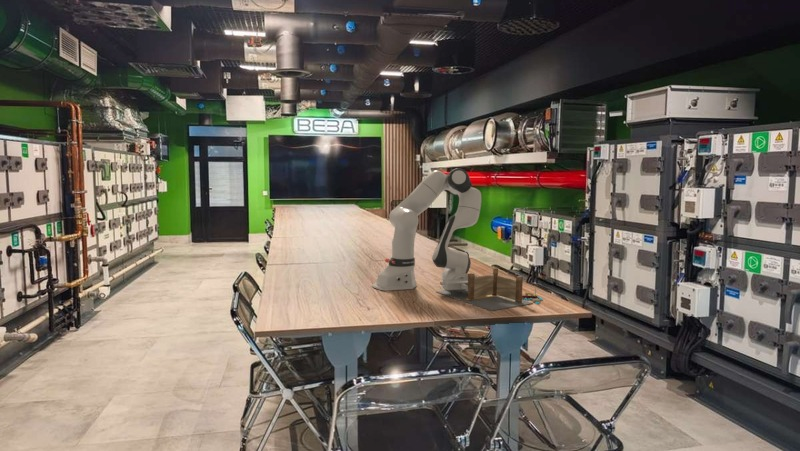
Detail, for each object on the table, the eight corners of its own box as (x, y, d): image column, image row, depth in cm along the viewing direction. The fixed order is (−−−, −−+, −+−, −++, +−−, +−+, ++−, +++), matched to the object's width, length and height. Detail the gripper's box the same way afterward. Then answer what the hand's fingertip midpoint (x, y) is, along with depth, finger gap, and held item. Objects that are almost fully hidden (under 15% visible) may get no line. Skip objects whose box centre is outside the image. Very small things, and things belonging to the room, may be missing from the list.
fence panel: (493, 295, 240) (494, 270, 239) (470, 299, 231) (471, 274, 230) (490, 294, 242) (491, 270, 241) (467, 298, 233) (468, 273, 231)
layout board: (491, 311, 216) (491, 309, 216) (435, 292, 249) (435, 291, 249) (532, 303, 229) (533, 302, 229) (474, 286, 262) (474, 285, 261)
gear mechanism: (525, 305, 228) (547, 305, 228) (526, 293, 228) (547, 293, 228) (515, 294, 248) (534, 294, 248) (515, 283, 248) (535, 283, 248)
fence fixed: (518, 304, 228) (519, 274, 226) (490, 295, 242) (491, 268, 241) (522, 303, 229) (523, 274, 228) (494, 295, 244) (495, 267, 242)
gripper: (438, 275, 244) (448, 282, 231) (479, 274, 249) (491, 280, 236) (438, 289, 245) (448, 296, 231) (478, 287, 250) (491, 294, 236)
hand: (470, 288), depth 234 cm, fingers closed
